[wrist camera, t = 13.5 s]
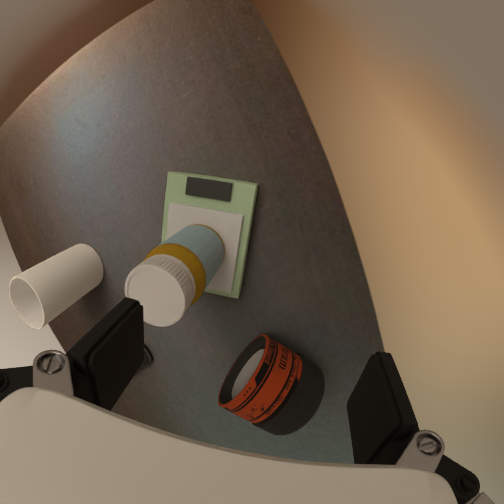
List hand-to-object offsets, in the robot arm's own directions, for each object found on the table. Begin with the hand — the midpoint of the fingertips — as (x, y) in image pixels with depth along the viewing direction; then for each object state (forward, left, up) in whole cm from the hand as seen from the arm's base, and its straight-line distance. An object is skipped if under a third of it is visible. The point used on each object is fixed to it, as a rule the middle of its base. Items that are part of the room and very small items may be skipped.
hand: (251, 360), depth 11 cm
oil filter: (+24, +4, -31) cm, 40 cm away
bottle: (+6, -10, -28) cm, 30 cm away
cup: (+14, -32, -31) cm, 47 cm away
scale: (+4, -10, -31) cm, 33 cm away
